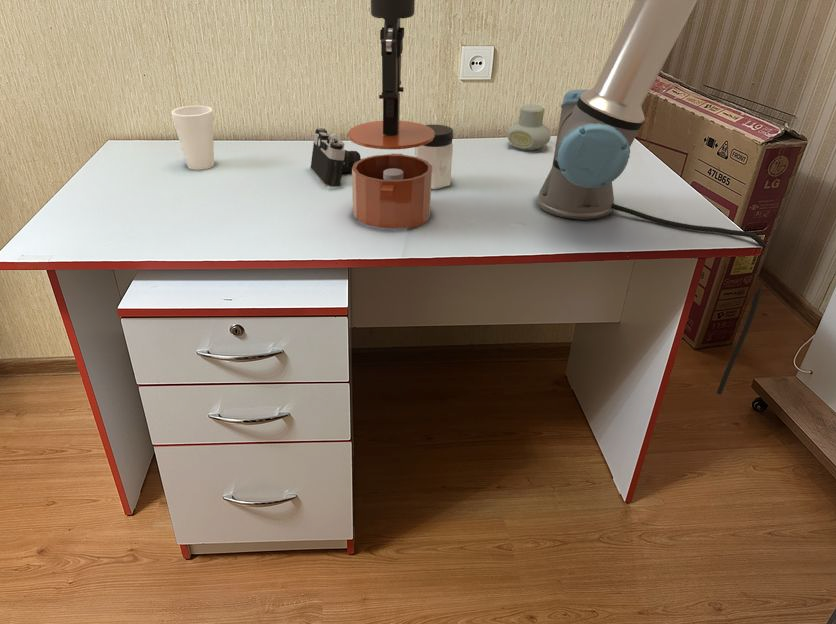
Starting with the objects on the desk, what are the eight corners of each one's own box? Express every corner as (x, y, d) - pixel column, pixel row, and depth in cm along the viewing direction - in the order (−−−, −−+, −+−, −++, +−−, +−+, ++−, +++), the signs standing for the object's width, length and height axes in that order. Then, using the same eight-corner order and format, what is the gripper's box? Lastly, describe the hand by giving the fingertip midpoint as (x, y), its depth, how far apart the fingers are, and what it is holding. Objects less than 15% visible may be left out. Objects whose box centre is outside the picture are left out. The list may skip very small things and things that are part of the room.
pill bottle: (387, 217, 128) (387, 177, 124) (377, 209, 132) (377, 169, 127) (408, 213, 130) (409, 173, 125) (398, 205, 133) (398, 166, 129)
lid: (436, 127, 128) (438, 81, 123) (432, 154, 114) (434, 104, 109) (354, 125, 129) (353, 80, 124) (341, 151, 116) (339, 101, 111)
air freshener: (553, 147, 166) (560, 107, 160) (538, 155, 161) (544, 114, 155) (517, 139, 172) (522, 100, 166) (500, 146, 167) (505, 107, 161)
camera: (366, 189, 146) (374, 146, 141) (321, 187, 142) (328, 142, 136) (346, 169, 157) (352, 128, 152) (304, 166, 153) (309, 123, 148)
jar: (427, 192, 141) (429, 137, 134) (405, 181, 146) (407, 128, 139) (458, 184, 145) (462, 130, 138) (436, 173, 150) (439, 121, 143)
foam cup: (226, 166, 155) (218, 112, 148) (190, 174, 151) (180, 118, 143) (211, 156, 162) (202, 103, 154) (176, 163, 157) (165, 109, 150)
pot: (431, 197, 138) (434, 151, 133) (426, 238, 121) (429, 188, 116) (361, 194, 140) (360, 149, 134) (346, 234, 123) (344, 184, 117)
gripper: (376, -15, 114) (376, 119, 128) (364, -4, 101) (366, 143, 115) (417, -15, 114) (413, 120, 127) (411, -4, 101) (407, 144, 114)
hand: (391, 131), depth 121 cm, fingers closed on lid, 3 cm apart
